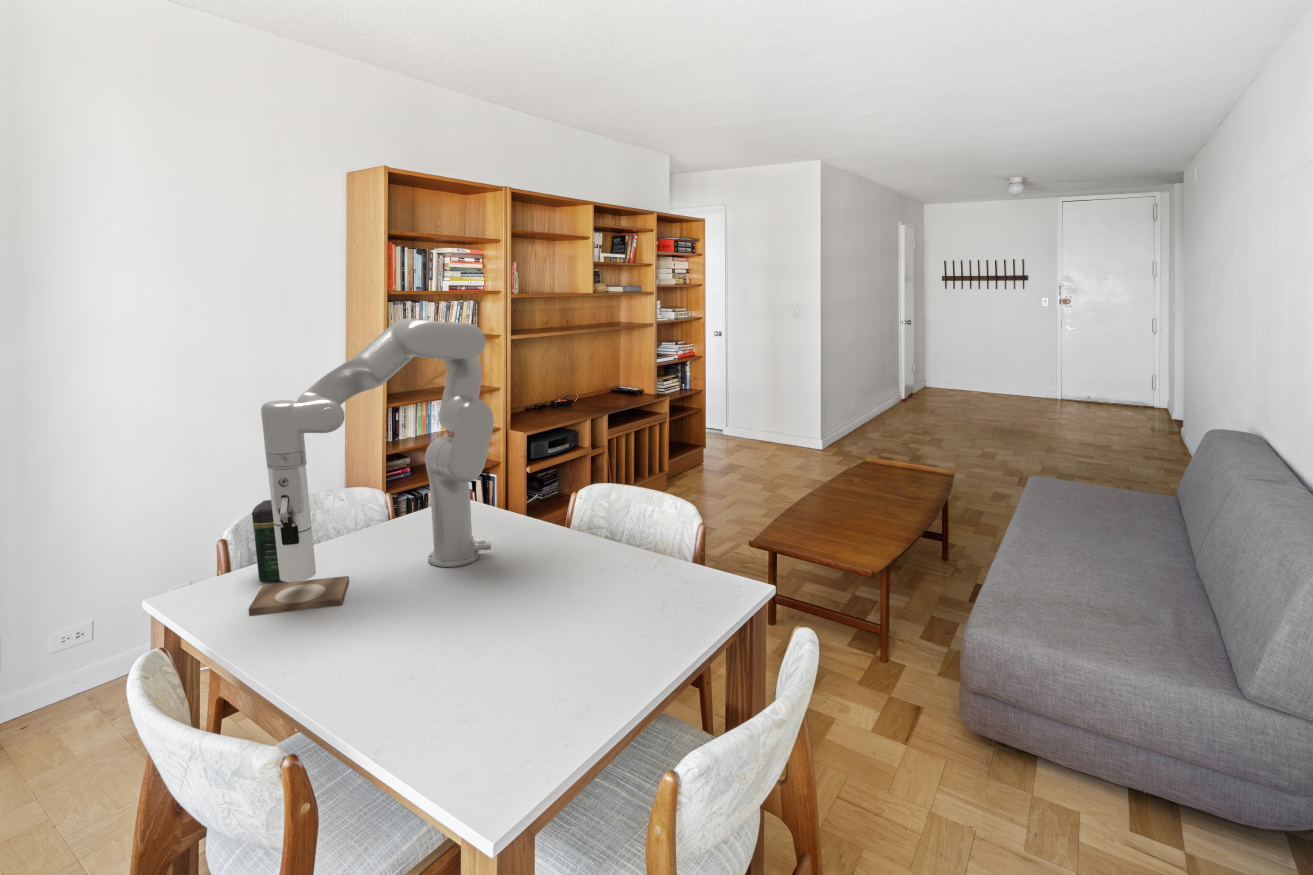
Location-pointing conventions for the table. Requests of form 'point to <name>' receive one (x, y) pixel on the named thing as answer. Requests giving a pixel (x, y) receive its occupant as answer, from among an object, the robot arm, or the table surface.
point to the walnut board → (299, 595)
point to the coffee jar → (265, 543)
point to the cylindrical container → (299, 557)
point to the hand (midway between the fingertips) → (294, 537)
